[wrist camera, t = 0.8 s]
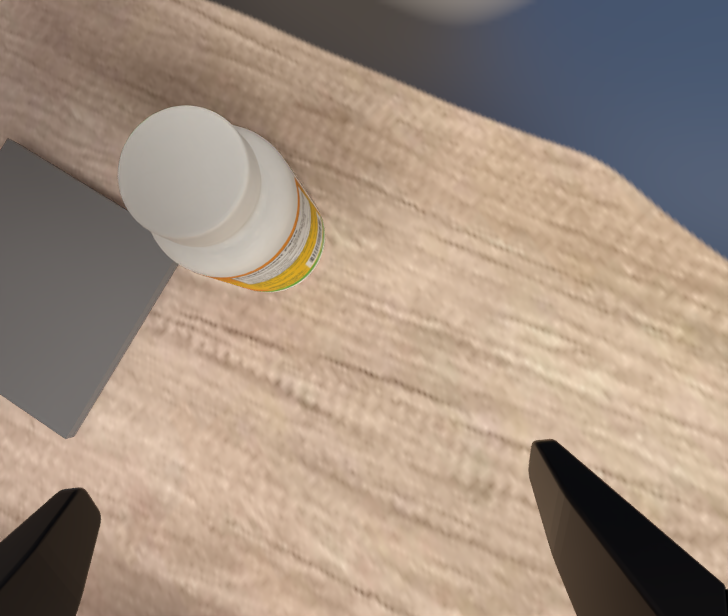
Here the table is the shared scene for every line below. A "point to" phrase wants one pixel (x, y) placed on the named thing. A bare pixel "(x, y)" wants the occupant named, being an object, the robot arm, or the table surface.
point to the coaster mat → (67, 288)
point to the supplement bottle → (220, 200)
